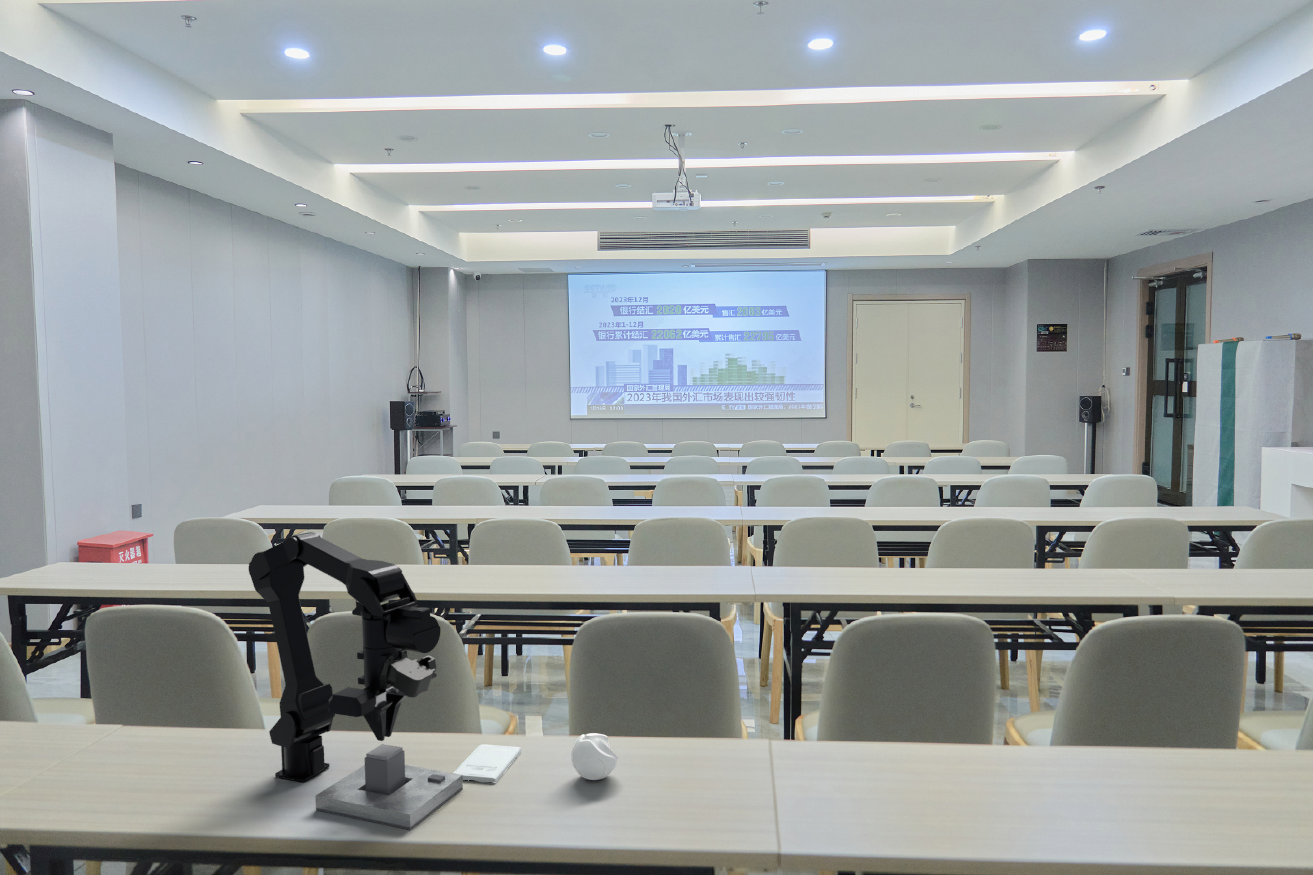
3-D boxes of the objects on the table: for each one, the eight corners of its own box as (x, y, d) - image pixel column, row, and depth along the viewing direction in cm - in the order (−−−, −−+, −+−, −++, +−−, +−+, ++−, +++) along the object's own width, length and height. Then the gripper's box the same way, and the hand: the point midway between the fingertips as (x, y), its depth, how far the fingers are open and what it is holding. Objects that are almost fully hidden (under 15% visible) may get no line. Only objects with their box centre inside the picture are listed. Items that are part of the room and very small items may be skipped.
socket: (315, 810, 136) (315, 792, 136) (374, 772, 149) (373, 756, 149) (410, 829, 130) (409, 811, 129) (462, 788, 143) (462, 771, 142)
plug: (365, 799, 138) (364, 753, 138) (383, 787, 142) (382, 743, 142) (388, 804, 137) (387, 757, 136) (405, 791, 141) (404, 746, 140)
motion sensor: (624, 782, 144) (623, 737, 144) (582, 792, 141) (581, 746, 140) (605, 764, 151) (605, 721, 151) (565, 773, 148) (564, 729, 148)
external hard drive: (521, 755, 157) (495, 786, 145) (479, 752, 158) (450, 782, 146) (521, 746, 157) (495, 777, 144) (479, 743, 158) (450, 773, 146)
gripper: (384, 667, 127) (387, 770, 127) (457, 632, 144) (459, 723, 145) (324, 659, 130) (328, 759, 131) (402, 626, 148) (404, 715, 149)
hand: (384, 738), depth 139 cm, fingers closed
